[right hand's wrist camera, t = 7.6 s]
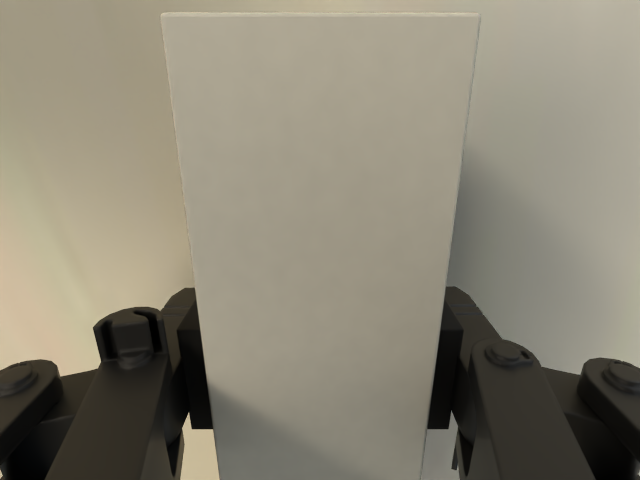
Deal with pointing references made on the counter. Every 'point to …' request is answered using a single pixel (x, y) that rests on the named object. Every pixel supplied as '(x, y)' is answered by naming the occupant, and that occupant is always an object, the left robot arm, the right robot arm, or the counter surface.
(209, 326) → the beam
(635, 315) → the counter surface
